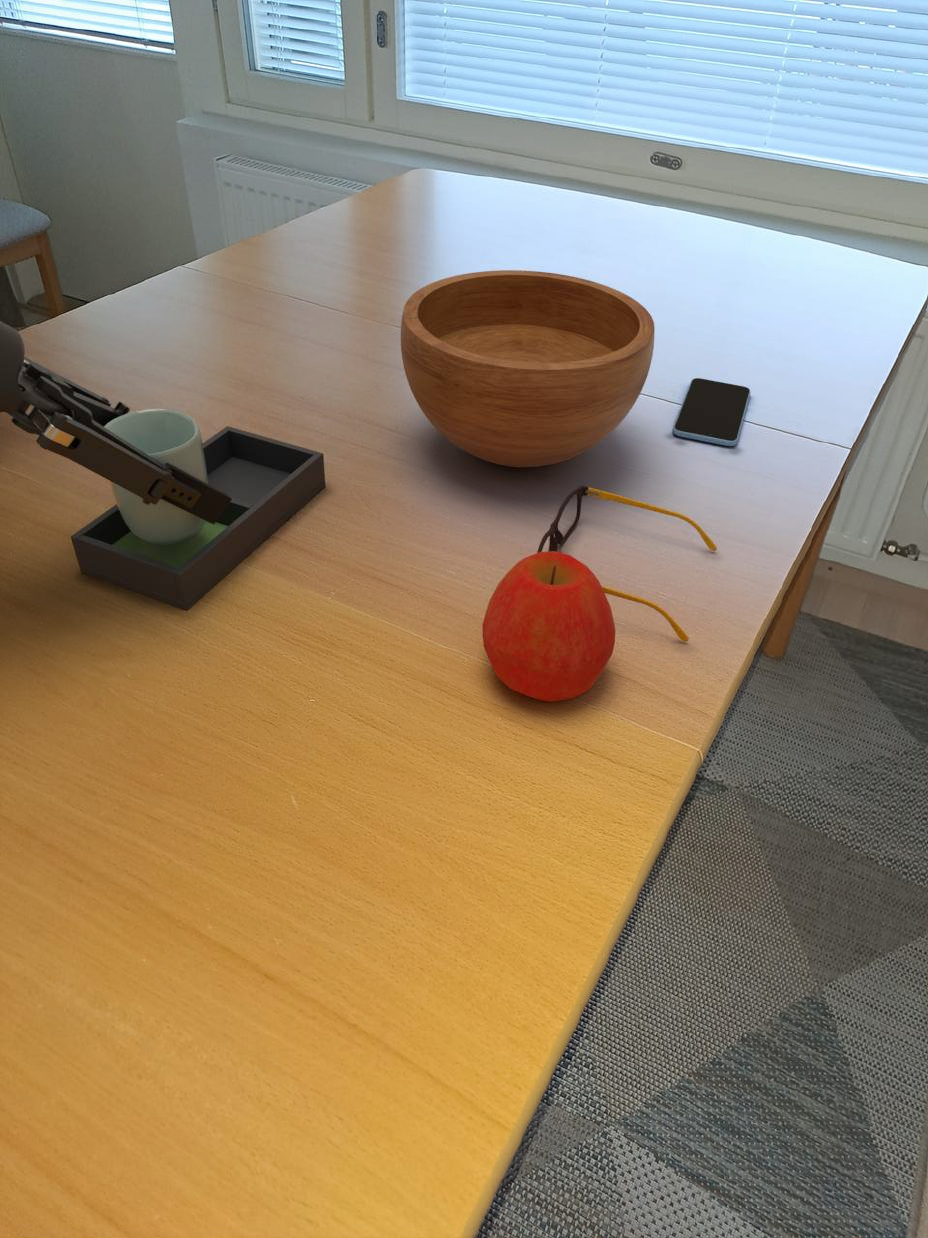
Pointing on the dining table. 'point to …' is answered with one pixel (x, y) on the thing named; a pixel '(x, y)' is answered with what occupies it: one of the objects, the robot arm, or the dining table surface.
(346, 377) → the dining table surface
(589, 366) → the bowl
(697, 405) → the smartphone
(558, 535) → the eyeglasses
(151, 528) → the cup
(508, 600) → the apple
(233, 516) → the holder
